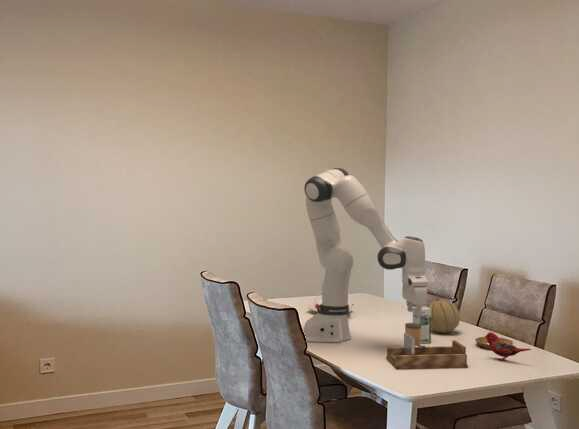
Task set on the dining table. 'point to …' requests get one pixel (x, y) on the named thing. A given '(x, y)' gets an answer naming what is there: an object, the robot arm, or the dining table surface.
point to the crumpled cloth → (319, 301)
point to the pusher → (410, 345)
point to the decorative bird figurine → (502, 347)
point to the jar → (414, 332)
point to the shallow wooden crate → (429, 357)
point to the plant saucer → (483, 342)
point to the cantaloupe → (444, 316)
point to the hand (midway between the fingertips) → (413, 313)
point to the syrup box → (424, 323)
